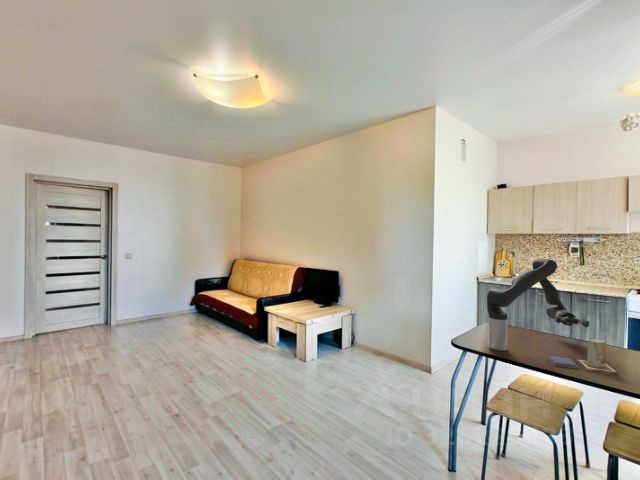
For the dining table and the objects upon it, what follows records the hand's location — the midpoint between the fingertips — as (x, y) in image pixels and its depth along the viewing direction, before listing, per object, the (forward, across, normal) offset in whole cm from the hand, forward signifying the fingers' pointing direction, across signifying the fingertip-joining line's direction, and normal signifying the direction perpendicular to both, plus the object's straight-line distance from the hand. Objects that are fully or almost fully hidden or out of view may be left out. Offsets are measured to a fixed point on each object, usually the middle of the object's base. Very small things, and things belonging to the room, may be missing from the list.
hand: (576, 324), depth 165 cm
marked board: (+14, +4, +17) cm, 22 cm away
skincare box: (+14, +4, +16) cm, 22 cm away
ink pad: (+14, -9, +18) cm, 24 cm away
